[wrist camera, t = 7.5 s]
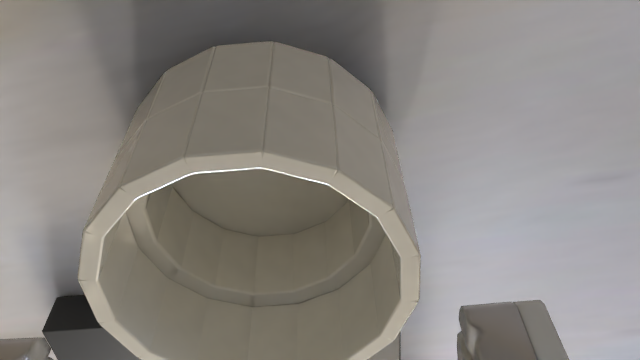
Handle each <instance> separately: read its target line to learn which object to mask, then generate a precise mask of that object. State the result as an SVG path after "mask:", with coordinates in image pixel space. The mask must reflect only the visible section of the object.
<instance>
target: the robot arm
mask: <svg viewBox="0 0 640 360" xmlns="http://www.w3.org/2000/svg"><path fill="white" fill-rule="evenodd" d="M459 322H460V326H461V330H462V331H461V332H460V333H459V334H457V354H458V360H569V358H568V356H567V354H566V352H565V349H564V347H563V345H562V343H561V340H560V338H559V336H558V334H557V331H556V329H555V327H554V324H553V322H552V320H551V318H550V315H549V313H548V311H547V309H546V306H545V304H544V303H543V302H542V301H541V300H533V301H519V302H502V303H490V304H478V305H467V306H461V308H460V312H459ZM50 350H51V347H50V346H49V344H48V343H47V341H46V339H45V338H17V339H0V360H53V359H52V358H50V357H48V355H49V353H50Z"/></svg>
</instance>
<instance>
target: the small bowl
mask: <svg viewBox="0 0 640 360" xmlns="http://www.w3.org/2000/svg"><path fill="white" fill-rule="evenodd" d="M420 264H421V254H420V249H419V245H418V240H417V236H416V232H415V227H414V223H413V218H412V214H411V209H410V205H409V200H408V196H407V192H406V188H405V184H404V179H403V175H402V170H401V166H400V161H399V157H398V152H397V148H396V144H395V139H394V135H393V130H392V128H391V126H390V125H389V123H388V121H387V119H386V117H385V115H384V113H383V111H382V109H381V107H380V105H379V103H378V101H377V99H376V97H375V95H374V93H373V92H372V91H370V89H369V88H368V87H367V86H365V85H364V84H363V83H362V82H360V81H359V80H358V79H356V78H355V77H354V76H353V75H351V74H350V73H349V72H348V71H346V70H345V69H344V68H342V67H341V66H340V65H339V64H337V63H336V62H335V61H334V60H332V59H329V58H328V57H326V56H323V55H320V54H316V53H313V52H309V51H306V50H303V49H299V48H296V47H292V46H289V45H285V44H282V43H279V42H274V43H273V42H272V41H266V42H254V43H242V44H230V45H218V46H216V47H211V48H209V49H207V50H205V51H203V52H201V53H199V54H197V55H196V56H194V57H192V58H190V59H188V60H186V61H184V62H182V63H180V64H178V65H176V66H174V67H172V68H170V69H168V70H167V71H166V72H165V73H164V74H163V75H162V76H161V78H160V79H159V80H158V82H157V83H156V84H155V86H154V87H153V88H152V89H151V91H150V92H149V93H148V95H147V96H146V97H145V99H144V100H143V101H142V103H141V104H140V105H139V107H138V108H137V110H136V113H135V115H134V117H133V119H132V122H131V124H130V126H129V128H128V130H127V133H126V135H125V137H124V139H123V142H122V144H121V146H120V148H119V151H118V153H117V155H116V158H115V160H114V162H113V164H112V166H111V168H110V171H109V173H108V175H107V177H106V180H105V182H104V184H103V186H102V189H101V191H100V193H99V195H98V198H97V200H96V202H95V204H94V207H93V209H92V211H91V213H90V216H89V218H88V220H87V222H86V225H85V227H84V229H83V233H82V242H81V251H80V259H79V268H78V281H79V283H80V286H81V288H82V290H83V292H84V294H85V296H86V298H87V301H88V303H89V305H90V307H91V309H92V311H93V313H94V315H95V318H96V320H97V322H98V323H99V324H100V325H101V326H102V327H103V328H104V329H105V330H106V331H107V332H109V333H110V334H111V335H112V336H113V337H114V338H115V339H117V340H118V341H119V342H120V343H121V344H122V345H123V346H125V347H126V348H127V349H128V350H129V351H130V352H131V353H133V354H134V355H135V356H136V357H139V359H141V360H367V359H369V358H370V357H372V356H373V355H374V354H376V353H377V352H379V351H380V350H382V349H383V348H384V347H386V346H387V345H389V344H390V343H392V342H393V340H395V339H396V337H397V335H398V334H399V332H400V331H401V329H402V327H403V326H404V324H405V323H406V321H407V319H408V318H409V316H410V315H411V313H412V311H413V310H414V308H415V307H416V305H417V303H418V300H419V294H420Z"/></svg>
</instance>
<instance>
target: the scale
mask: <svg viewBox="0 0 640 360" xmlns="http://www.w3.org/2000/svg"><path fill="white" fill-rule="evenodd" d="M42 332H43V334H44V336H45V338H46V339H47V341H48V343H49V345H50V346H51V348H52V350H53V352H54V354H55V355H56V357H57V359H58V360H141V359H139V357H136V356H135V355H134V354H133V353H131V352H130V351H129V350H128V349H127V348H126V347H125V346H123V345H122V344H121V343H120V342H119V341H118V340H117V339H115V338H114V337H113V336H112V335H111V334H110V333H109V332H107V331H106V330H105V329H104V328H103V327H102V326H101V325H100V324H99V323H98V322H97V320H96V318H95V315H94V313H93V311H92V309H91V307H90V305H89V303H88V301H87V298H86V296H85V295H84V296H70V297H58V298H56V301H55V303H54V305H53V307H52V310H51V312H50V314H49V317H48V319H47V321H46V323H45V326H44V328H43V330H42ZM367 360H400V332H399V334H398V335H397V337H396V339H395V340H393V342H392V343H390V344H389V345H387V346H386V347H384V348H383V349H382V350H380V351H379V352H377V353H376V354H374V355H373V356H372V357H370V358H369V359H367Z"/></svg>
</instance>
